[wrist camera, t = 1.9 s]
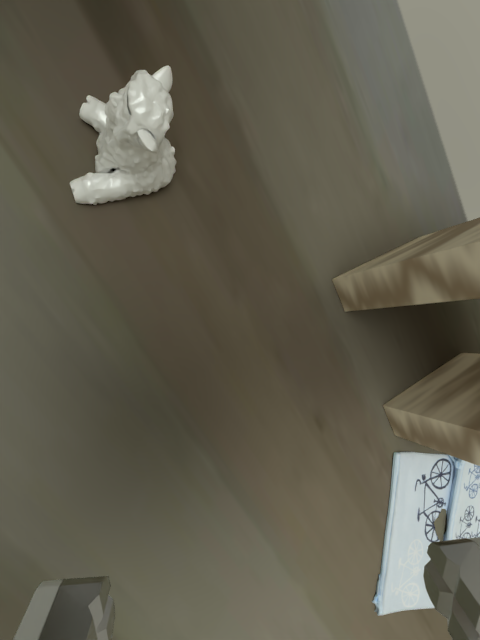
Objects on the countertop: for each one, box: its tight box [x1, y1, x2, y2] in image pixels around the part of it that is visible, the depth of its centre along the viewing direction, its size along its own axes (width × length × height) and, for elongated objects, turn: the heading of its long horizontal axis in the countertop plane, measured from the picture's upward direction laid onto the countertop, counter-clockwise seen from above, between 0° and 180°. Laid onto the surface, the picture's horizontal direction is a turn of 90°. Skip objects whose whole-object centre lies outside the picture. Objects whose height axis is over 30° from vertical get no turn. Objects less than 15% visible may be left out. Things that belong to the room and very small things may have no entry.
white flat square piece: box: [372, 451, 480, 616], centre depth 43 cm, size 19×20×2 cm
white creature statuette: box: [70, 65, 177, 205], centre depth 27 cm, size 10×9×12 cm
